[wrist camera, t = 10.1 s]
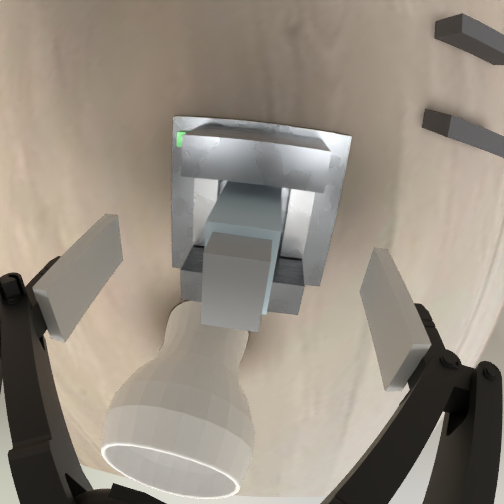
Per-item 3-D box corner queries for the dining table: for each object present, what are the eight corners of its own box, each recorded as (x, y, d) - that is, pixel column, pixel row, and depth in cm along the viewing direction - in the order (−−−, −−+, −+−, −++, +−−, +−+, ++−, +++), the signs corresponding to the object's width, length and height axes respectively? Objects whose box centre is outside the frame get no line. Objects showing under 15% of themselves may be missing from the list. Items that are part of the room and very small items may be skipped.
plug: (230, 174, 22) (195, 240, 13) (281, 181, 22) (280, 252, 13) (225, 238, 24) (194, 329, 16) (271, 245, 24) (264, 340, 16)
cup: (200, 262, 26) (136, 423, 13) (288, 335, 29) (284, 489, 16) (135, 323, 30) (73, 450, 17) (214, 379, 33) (187, 504, 20)
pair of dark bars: (435, 21, 15) (462, 13, 12) (494, 49, 15) (525, 48, 11) (422, 127, 19) (447, 137, 16) (480, 146, 19) (509, 160, 16)
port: (175, 115, 21) (148, 124, 16) (350, 135, 20) (368, 149, 16) (174, 263, 26) (154, 300, 22) (318, 282, 26) (324, 323, 22)
